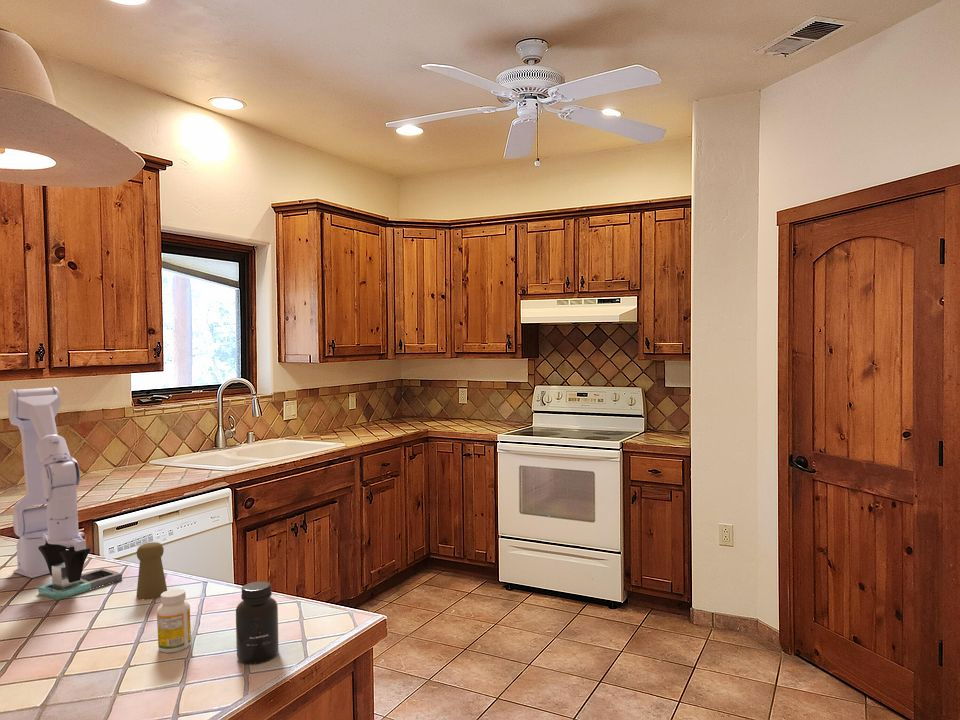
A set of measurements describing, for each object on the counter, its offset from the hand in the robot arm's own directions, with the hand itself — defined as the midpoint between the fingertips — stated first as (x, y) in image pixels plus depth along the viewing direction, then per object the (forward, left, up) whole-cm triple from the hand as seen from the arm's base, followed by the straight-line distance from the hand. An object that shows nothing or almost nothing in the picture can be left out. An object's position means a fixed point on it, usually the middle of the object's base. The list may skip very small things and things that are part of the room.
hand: (65, 578), depth 151 cm
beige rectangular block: (0, 0, -3) cm, 3 cm away
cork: (+19, +8, -3) cm, 21 cm away
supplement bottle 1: (+47, -5, -3) cm, 47 cm away
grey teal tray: (0, +3, -3) cm, 4 cm away
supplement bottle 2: (+63, 0, -3) cm, 63 cm away
